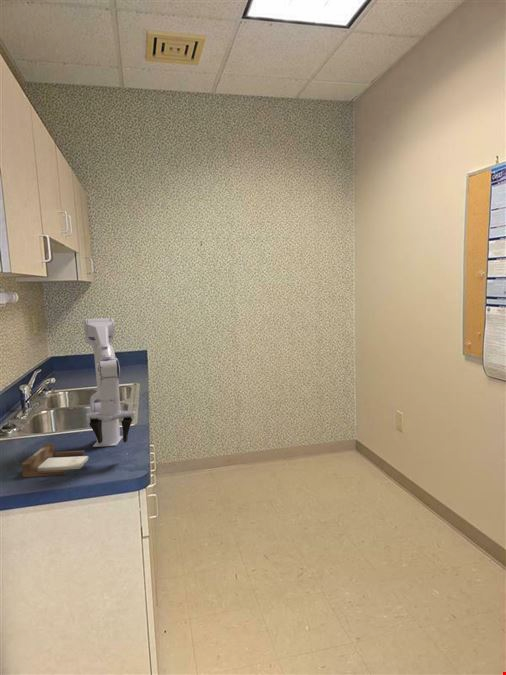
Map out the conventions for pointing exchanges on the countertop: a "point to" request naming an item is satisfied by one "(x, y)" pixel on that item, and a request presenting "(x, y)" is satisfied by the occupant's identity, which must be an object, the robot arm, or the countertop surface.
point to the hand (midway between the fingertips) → (113, 441)
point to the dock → (40, 456)
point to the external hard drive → (63, 463)
